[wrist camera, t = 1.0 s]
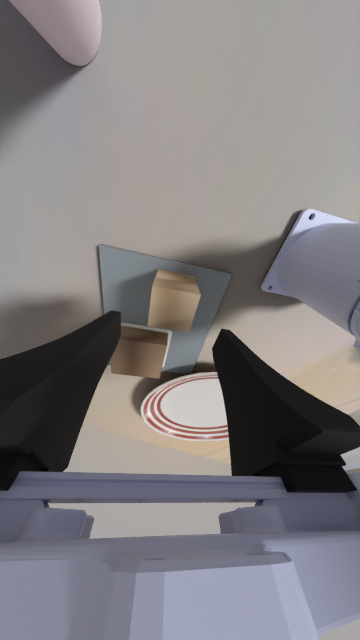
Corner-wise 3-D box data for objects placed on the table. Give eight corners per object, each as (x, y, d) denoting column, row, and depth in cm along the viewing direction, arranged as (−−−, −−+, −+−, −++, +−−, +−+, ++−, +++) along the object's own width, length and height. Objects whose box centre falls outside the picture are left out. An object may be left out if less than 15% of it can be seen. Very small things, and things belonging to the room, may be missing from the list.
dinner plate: (137, 423, 38) (134, 439, 35) (151, 346, 23) (148, 364, 20) (236, 430, 42) (241, 445, 39) (303, 370, 27) (317, 387, 24)
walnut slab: (168, 333, 21) (167, 345, 19) (160, 365, 25) (159, 378, 23) (116, 324, 20) (109, 337, 18) (117, 359, 24) (111, 373, 22)
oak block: (194, 276, 16) (200, 295, 12) (186, 307, 19) (188, 332, 14) (158, 268, 16) (152, 285, 12) (154, 301, 18) (147, 325, 14)
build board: (230, 273, 17) (232, 275, 16) (190, 371, 27) (190, 374, 26) (101, 244, 15) (98, 245, 14) (109, 361, 25) (107, 364, 24)
